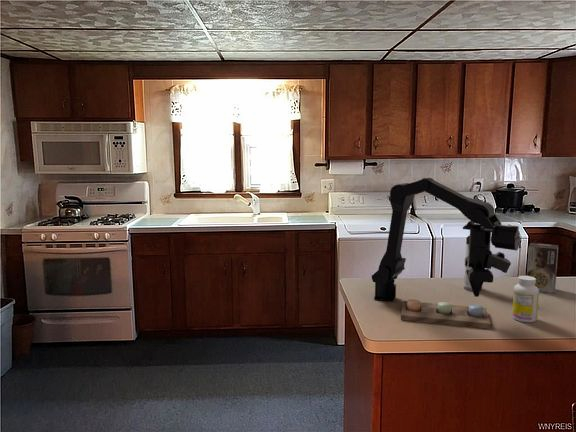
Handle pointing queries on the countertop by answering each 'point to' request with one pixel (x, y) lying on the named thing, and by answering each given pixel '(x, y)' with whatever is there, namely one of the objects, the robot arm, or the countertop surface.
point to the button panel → (446, 316)
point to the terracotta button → (413, 305)
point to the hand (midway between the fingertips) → (476, 296)
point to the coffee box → (543, 265)
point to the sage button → (444, 308)
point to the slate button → (475, 310)
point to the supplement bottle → (525, 299)
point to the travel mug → (466, 280)
